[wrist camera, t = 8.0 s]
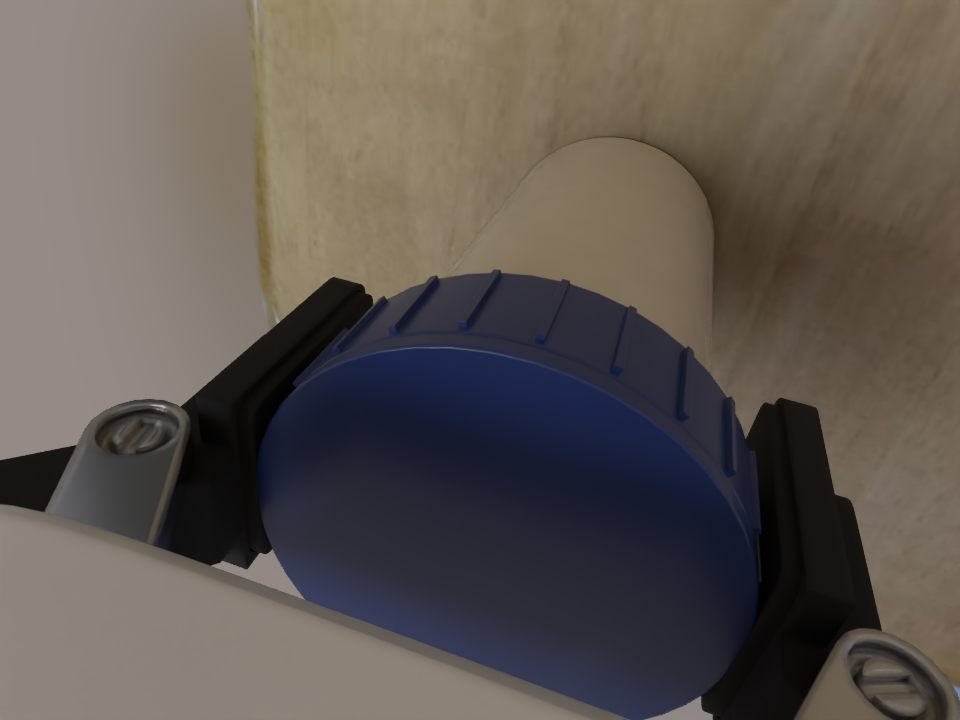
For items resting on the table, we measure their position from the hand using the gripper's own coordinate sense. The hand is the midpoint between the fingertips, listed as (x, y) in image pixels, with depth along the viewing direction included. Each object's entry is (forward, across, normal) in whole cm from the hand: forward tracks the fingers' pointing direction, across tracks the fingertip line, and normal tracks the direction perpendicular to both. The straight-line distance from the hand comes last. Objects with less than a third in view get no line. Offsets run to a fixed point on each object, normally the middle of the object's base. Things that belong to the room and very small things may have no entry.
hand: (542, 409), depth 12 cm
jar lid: (-3, 0, 0) cm, 3 cm away
